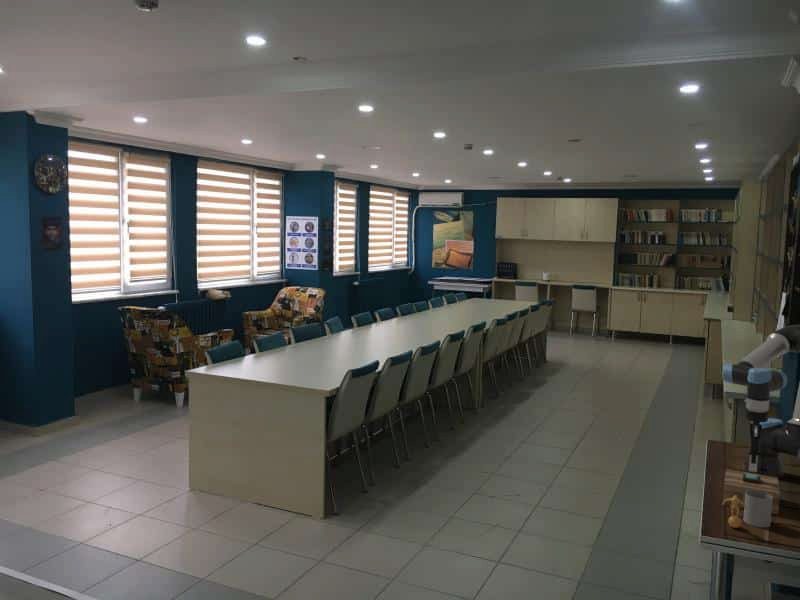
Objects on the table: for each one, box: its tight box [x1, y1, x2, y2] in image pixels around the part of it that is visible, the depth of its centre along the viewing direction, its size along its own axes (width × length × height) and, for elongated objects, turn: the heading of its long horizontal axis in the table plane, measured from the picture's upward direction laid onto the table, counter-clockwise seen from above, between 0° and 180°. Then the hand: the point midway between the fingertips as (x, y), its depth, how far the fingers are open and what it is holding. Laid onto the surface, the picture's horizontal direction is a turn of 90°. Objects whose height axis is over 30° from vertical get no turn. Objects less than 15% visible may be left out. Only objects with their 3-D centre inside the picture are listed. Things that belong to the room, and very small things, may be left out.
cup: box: [742, 490, 773, 528], centre depth 234 cm, size 8×8×10 cm
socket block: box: [722, 468, 781, 515], centre depth 253 cm, size 18×18×9 cm
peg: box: [746, 474, 758, 480], centre depth 253 cm, size 4×4×8 cm
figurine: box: [721, 495, 749, 529], centre depth 229 cm, size 8×6×12 cm
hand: (752, 470), depth 253 cm, fingers closed
